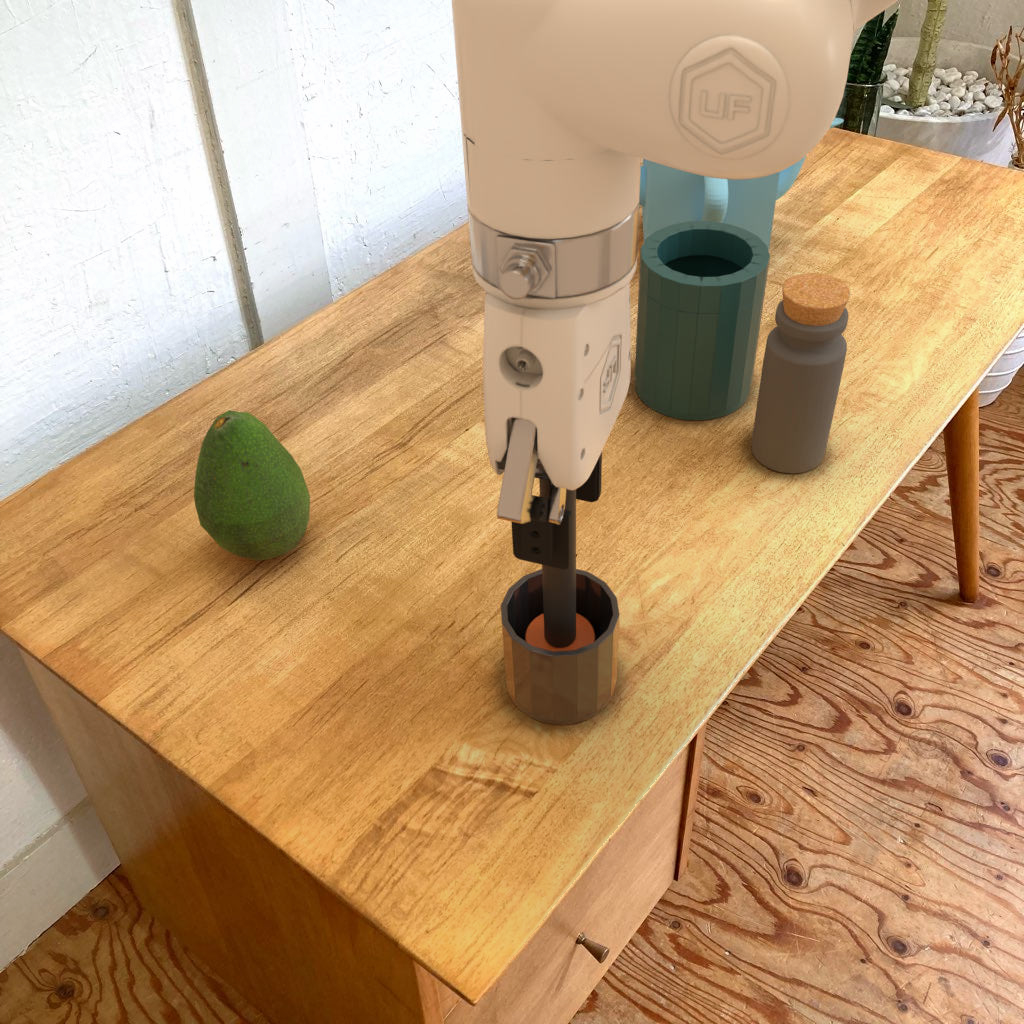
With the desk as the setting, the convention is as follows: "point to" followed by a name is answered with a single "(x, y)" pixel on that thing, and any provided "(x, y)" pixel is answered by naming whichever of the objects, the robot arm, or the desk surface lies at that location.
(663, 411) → the jar
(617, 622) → the holder
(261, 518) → the fruit
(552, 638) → the rod with orange collar
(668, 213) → the teakettle
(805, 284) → the bottle
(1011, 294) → the desk surface
